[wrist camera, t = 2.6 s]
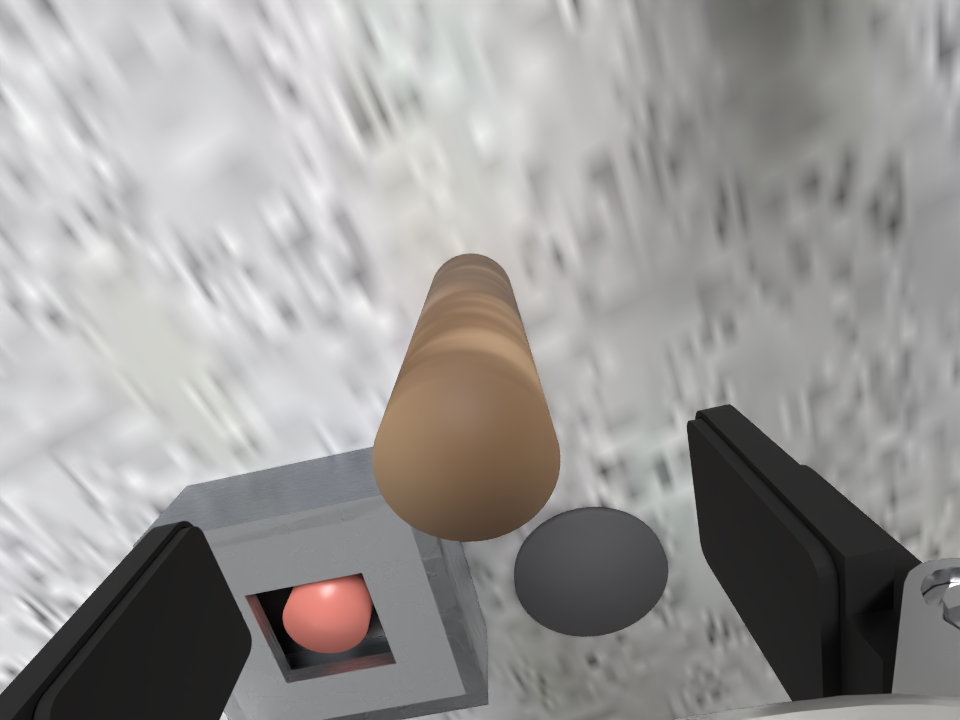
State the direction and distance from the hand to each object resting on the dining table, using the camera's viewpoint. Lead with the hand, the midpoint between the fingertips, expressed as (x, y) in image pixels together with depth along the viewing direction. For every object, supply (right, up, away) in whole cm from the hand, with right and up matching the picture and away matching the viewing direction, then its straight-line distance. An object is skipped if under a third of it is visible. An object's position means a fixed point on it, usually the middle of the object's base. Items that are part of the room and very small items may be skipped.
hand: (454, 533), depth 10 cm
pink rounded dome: (-7, -9, +20) cm, 23 cm away
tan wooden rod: (0, +6, +16) cm, 18 cm away
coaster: (+7, -9, +22) cm, 25 cm away
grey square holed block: (-7, -9, +22) cm, 25 cm away
